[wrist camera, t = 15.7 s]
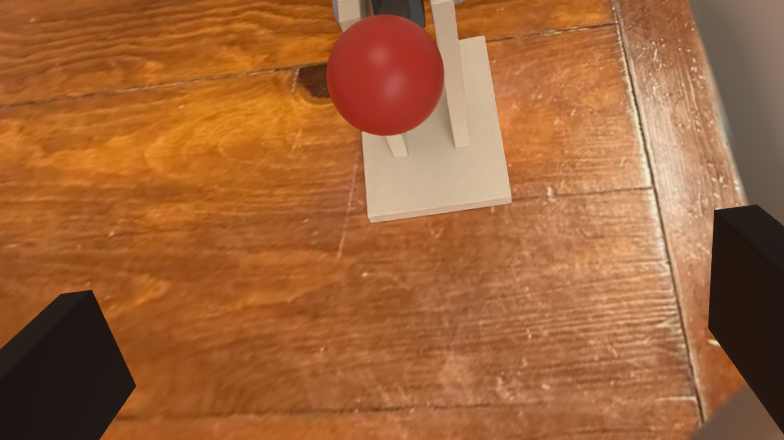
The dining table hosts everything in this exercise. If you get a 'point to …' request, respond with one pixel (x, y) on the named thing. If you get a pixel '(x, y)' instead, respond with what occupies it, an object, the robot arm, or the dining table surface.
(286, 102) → the dining table surface
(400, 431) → the dining table surface
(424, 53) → the switch lever
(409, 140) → the switch bracket
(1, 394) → the robot arm
